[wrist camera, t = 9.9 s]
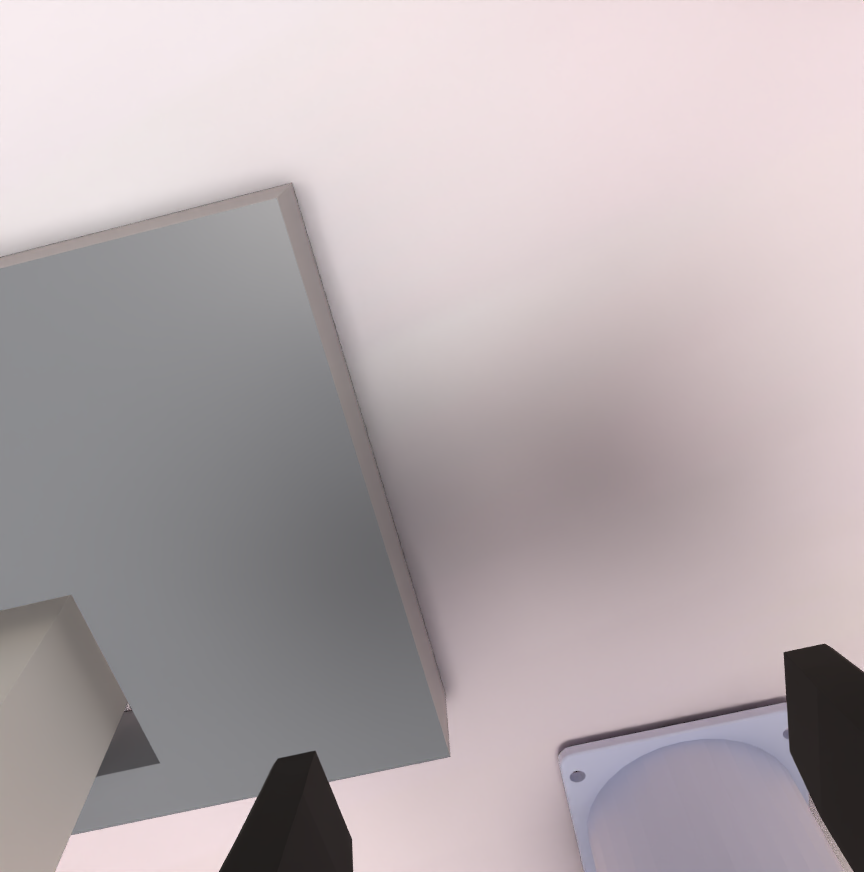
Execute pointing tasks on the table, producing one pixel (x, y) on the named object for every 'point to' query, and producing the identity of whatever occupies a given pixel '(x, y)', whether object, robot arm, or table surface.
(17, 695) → the beige rectangular block
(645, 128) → the table surface
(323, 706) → the outlet plate
